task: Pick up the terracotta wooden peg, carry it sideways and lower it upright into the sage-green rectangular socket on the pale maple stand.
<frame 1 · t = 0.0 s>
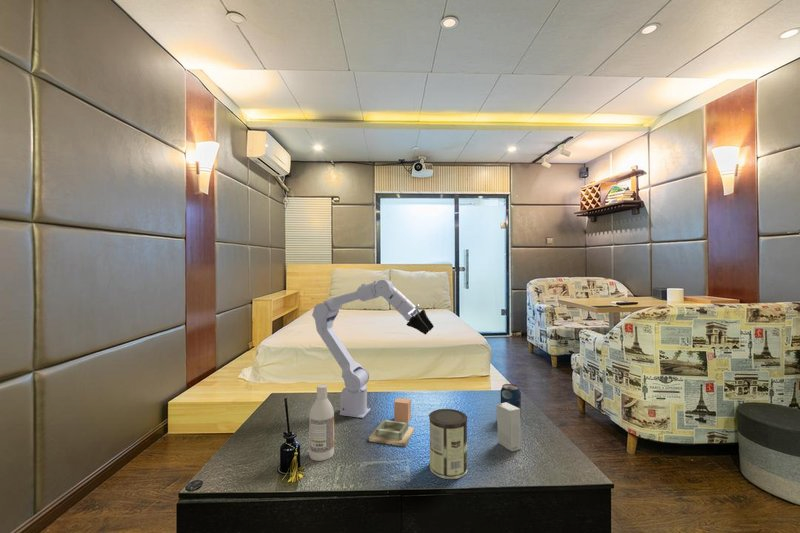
hand: (429, 330, 121), 32 cm above the table, tool tilted 50°, fingers open, 7 cm apart
keyed peg: (402, 420, 123), on the table
skincare box: (508, 446, 105), on the table
coffee can: (448, 468, 93), on the table
socket stand: (392, 435, 111), on the table
bath foam: (321, 455, 100), on the table
soda can: (510, 420, 123), on the table
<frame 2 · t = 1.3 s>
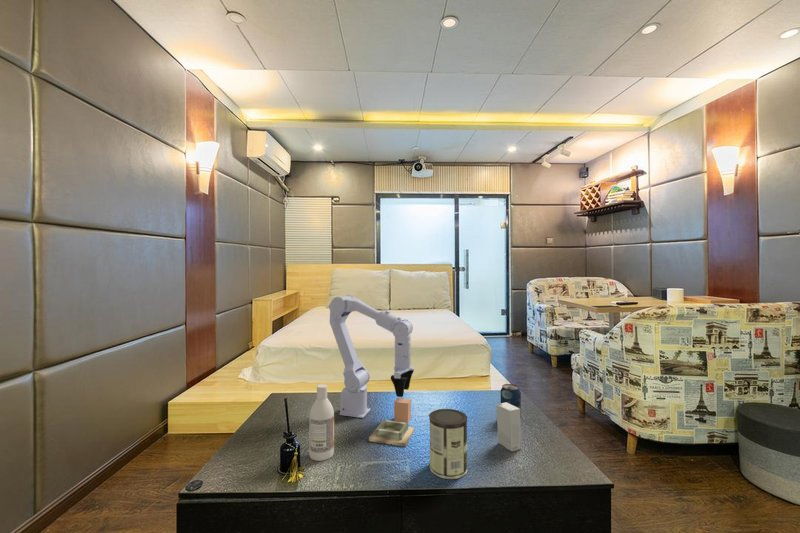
hand: (402, 392, 123), 10 cm above the table, tool pointing down, fingers open, 7 cm apart
nothing on the table moved.
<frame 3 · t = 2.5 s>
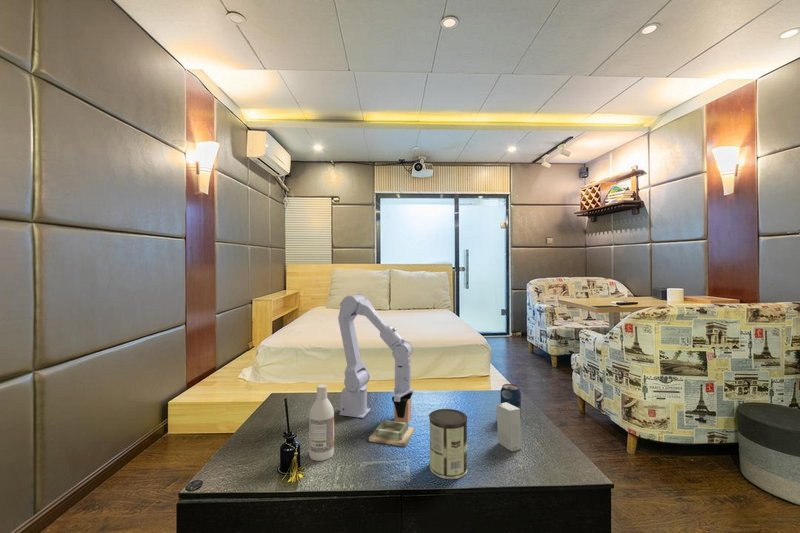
hand: (402, 414, 123), 2 cm above the table, tool pointing down, fingers closed on keyed peg, 4 cm apart
keyed peg: (402, 420, 123), on the table, touching gripper
everything else where it was.
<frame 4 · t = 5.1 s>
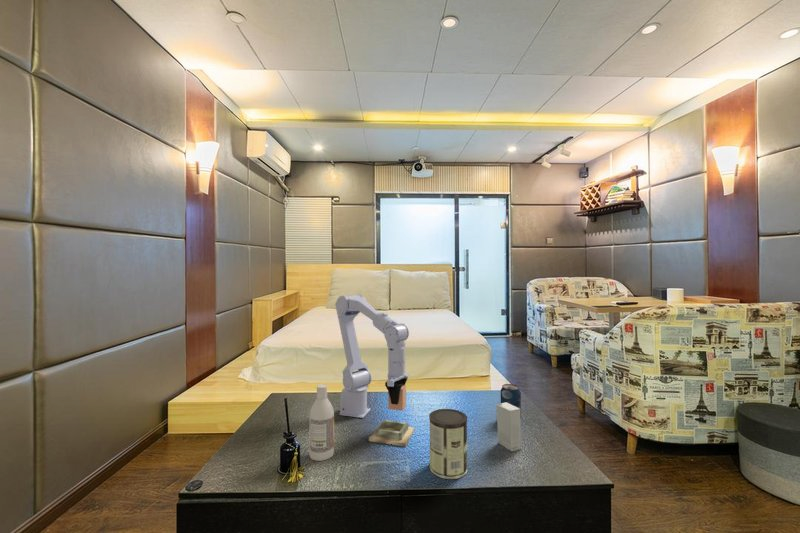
hand: (396, 401, 116), 9 cm above the table, tool pointing down, fingers closed on keyed peg, 4 cm apart
keyed peg: (397, 407, 116), point 7 cm above the table, touching gripper
everything else where it was.
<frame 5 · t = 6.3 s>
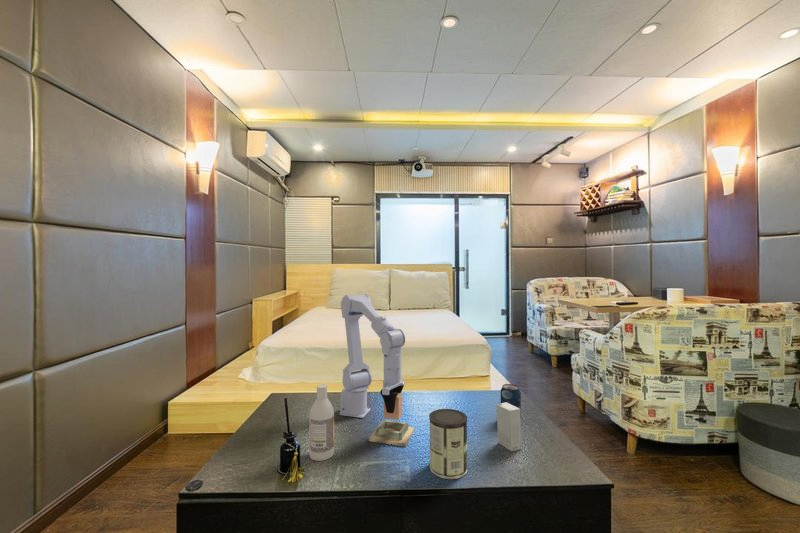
hand: (392, 409, 111), 8 cm above the table, tool pointing down, fingers closed on keyed peg, 4 cm apart
keyed peg: (392, 416, 111), point 6 cm above the table, touching gripper
everything else where it was.
when the fingers open (4 cm above the table, at t = 7.5 s): keyed peg drops 1 cm, resting on socket stand.
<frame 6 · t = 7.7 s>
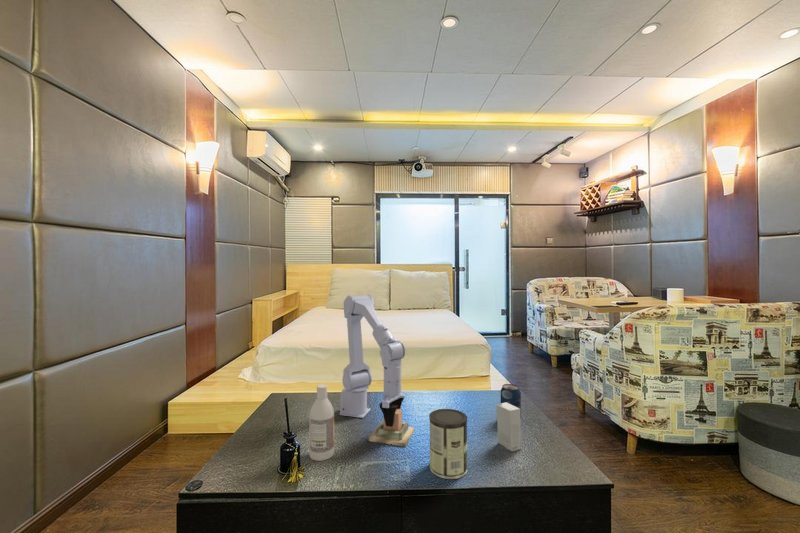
hand: (392, 421, 111), 4 cm above the table, tool pointing down, fingers open, 5 cm apart
keyed peg: (392, 432, 111), point 1 cm above the table, touching socket stand
everything else where it was.
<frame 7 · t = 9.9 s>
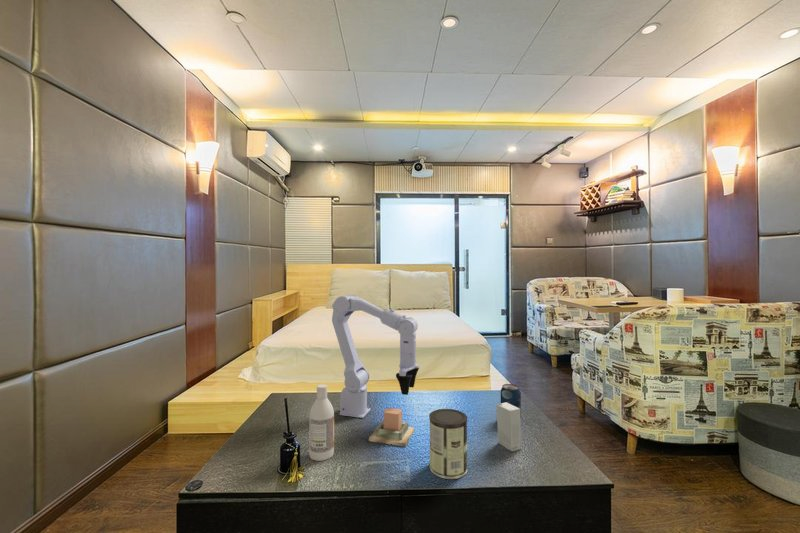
hand: (407, 390, 123), 10 cm above the table, tool pointing down, fingers open, 7 cm apart
nothing on the table moved.
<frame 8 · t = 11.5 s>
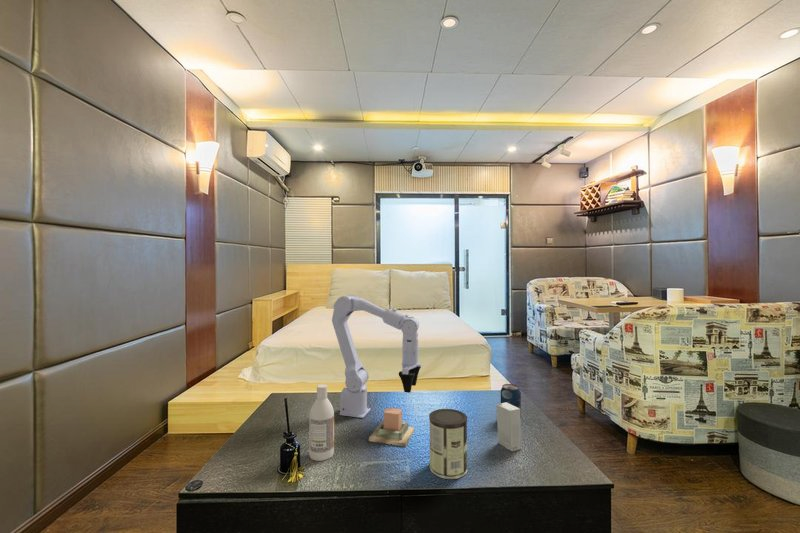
hand: (410, 388, 125), 10 cm above the table, tool pointing down, fingers open, 7 cm apart
nothing on the table moved.
at the end: keyed peg 0.2 cm off-centre on the socket stand, point 1.0 cm above the socket stand's base; keyed peg tilted 0°; the gripper is holding nothing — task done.
